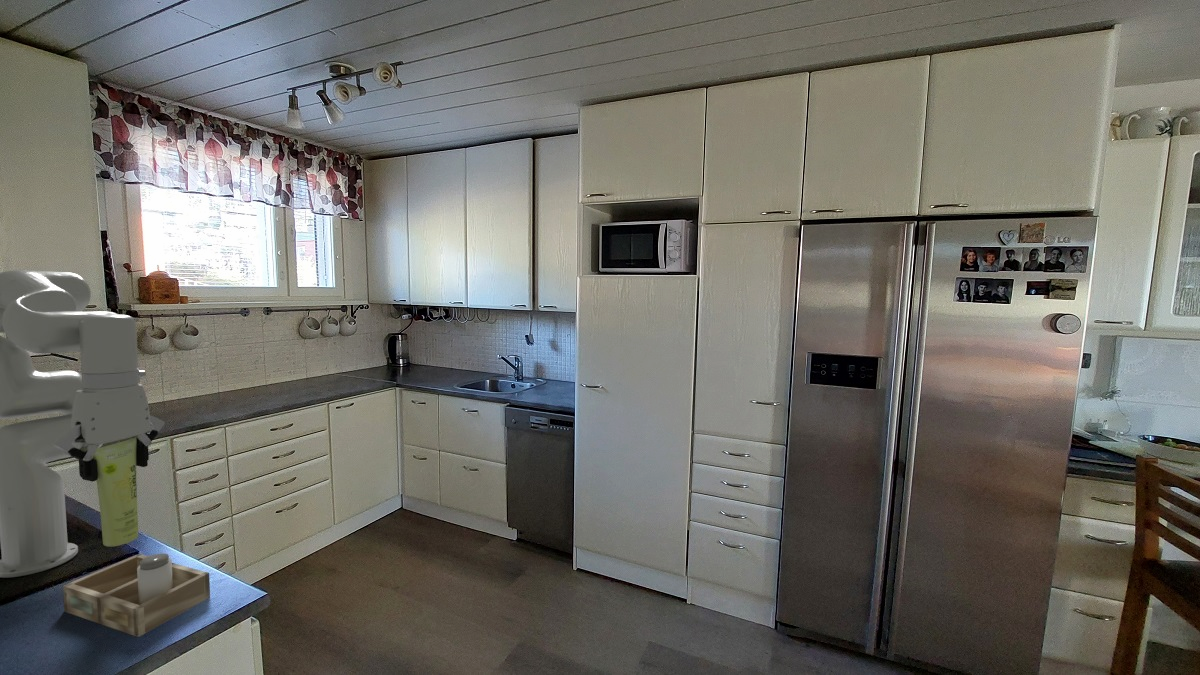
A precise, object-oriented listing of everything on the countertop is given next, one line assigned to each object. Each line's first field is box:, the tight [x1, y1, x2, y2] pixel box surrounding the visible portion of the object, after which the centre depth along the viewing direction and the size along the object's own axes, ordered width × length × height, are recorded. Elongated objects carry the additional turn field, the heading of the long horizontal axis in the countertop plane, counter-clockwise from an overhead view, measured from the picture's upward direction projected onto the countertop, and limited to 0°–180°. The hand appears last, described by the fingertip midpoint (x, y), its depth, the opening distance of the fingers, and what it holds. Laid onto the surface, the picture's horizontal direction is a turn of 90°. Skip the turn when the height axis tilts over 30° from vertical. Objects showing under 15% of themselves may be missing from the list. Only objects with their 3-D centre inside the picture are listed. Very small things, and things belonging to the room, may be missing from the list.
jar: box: [137, 553, 173, 605], centre depth 93 cm, size 5×5×10 cm
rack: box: [62, 553, 211, 638], centre depth 94 cm, size 20×12×6 cm, turn 73°
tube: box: [93, 437, 139, 547], centre depth 94 cm, size 6×5×20 cm
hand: (116, 471), depth 93 cm, fingers closed on tube, 7 cm apart
